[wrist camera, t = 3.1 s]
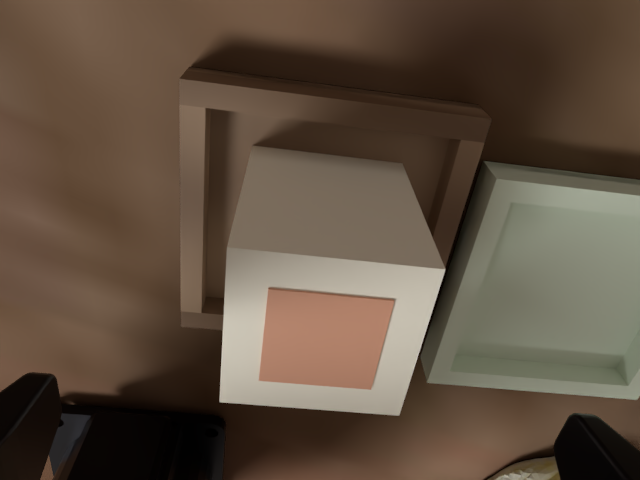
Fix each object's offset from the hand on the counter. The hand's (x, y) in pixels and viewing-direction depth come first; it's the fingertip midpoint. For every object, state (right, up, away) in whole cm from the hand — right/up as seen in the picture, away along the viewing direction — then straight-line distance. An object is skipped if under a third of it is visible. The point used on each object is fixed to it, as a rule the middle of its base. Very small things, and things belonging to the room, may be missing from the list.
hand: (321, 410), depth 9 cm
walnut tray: (0, +4, +6) cm, 7 cm away
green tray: (+8, +2, +7) cm, 11 cm away
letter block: (0, +4, +6) cm, 7 cm away
